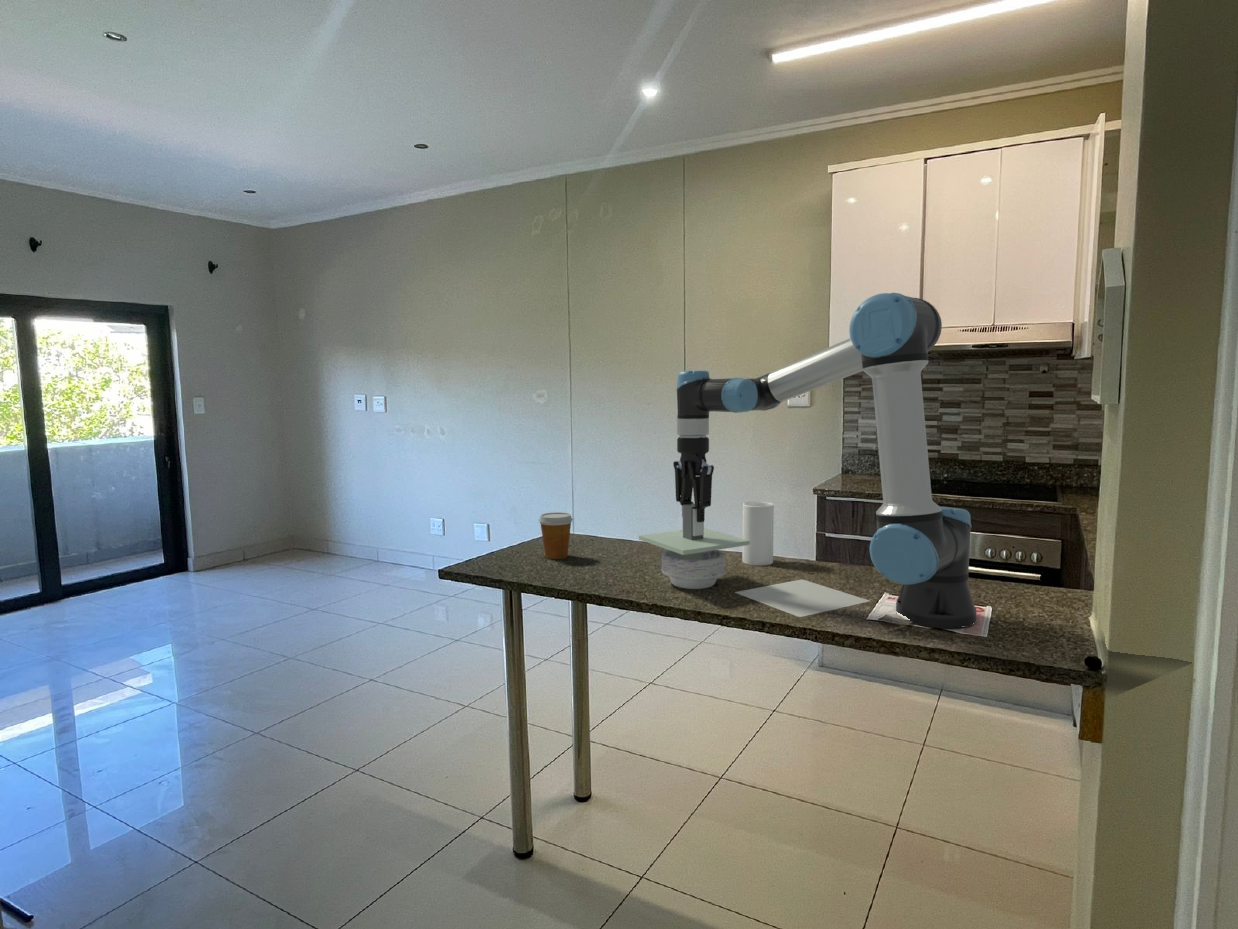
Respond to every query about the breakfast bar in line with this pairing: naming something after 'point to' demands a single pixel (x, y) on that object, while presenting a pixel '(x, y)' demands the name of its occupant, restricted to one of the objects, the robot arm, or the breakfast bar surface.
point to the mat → (802, 597)
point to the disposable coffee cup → (556, 534)
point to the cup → (758, 533)
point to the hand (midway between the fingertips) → (692, 533)
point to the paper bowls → (693, 568)
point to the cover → (692, 538)
